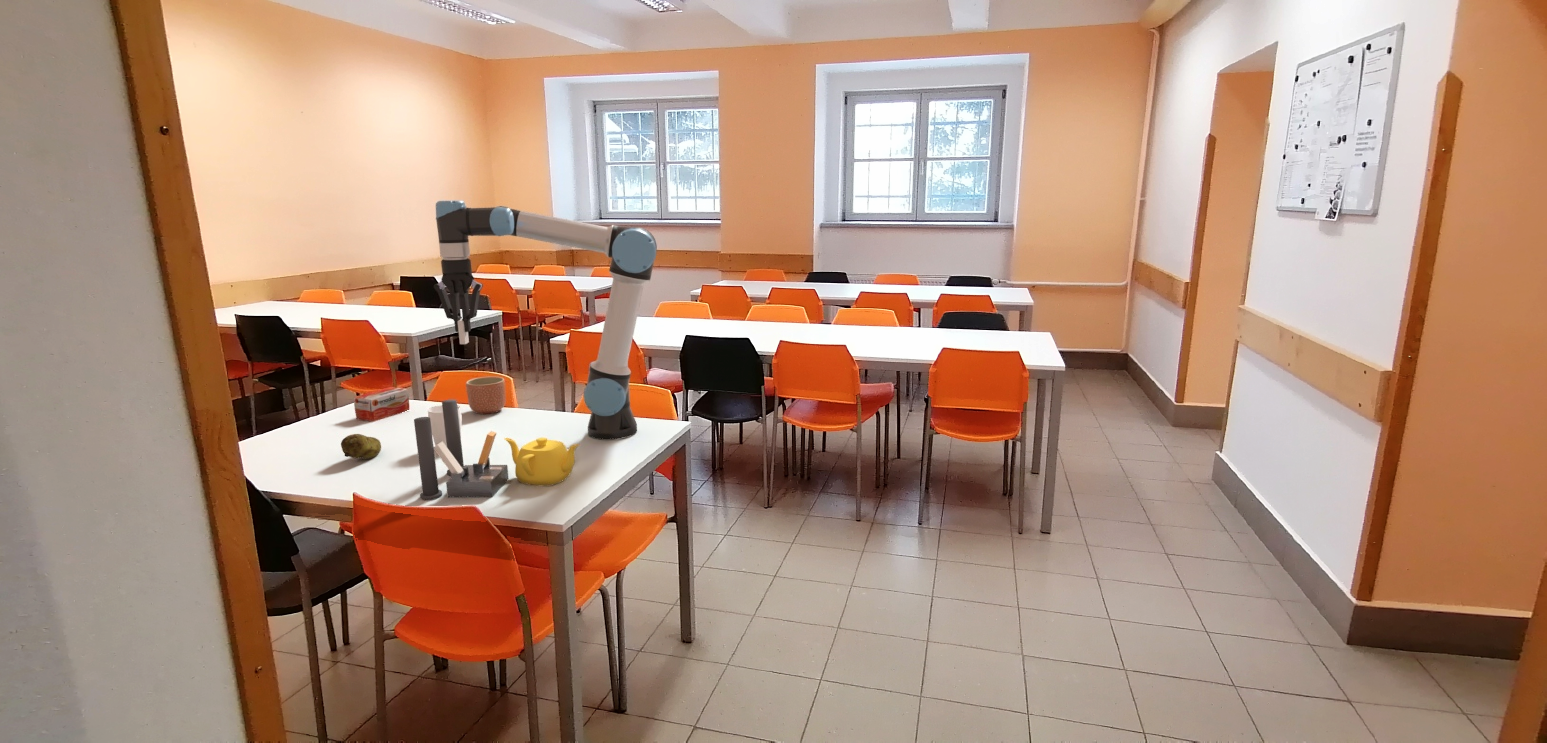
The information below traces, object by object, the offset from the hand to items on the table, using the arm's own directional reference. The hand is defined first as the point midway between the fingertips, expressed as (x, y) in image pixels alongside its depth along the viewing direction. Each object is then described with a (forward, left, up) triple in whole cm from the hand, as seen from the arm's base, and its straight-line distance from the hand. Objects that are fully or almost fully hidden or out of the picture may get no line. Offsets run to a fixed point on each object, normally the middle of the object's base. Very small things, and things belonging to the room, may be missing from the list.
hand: (464, 343), depth 211 cm
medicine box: (+46, -40, -33) cm, 70 cm away
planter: (+12, -43, -33) cm, 55 cm away
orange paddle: (-11, +24, -27) cm, 38 cm away
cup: (+10, -5, -33) cm, 34 cm away
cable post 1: (-1, +32, -32) cm, 46 cm away
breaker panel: (-11, +27, -32) cm, 44 cm away
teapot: (-25, +21, -33) cm, 47 cm away
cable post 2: (-1, +16, -32) cm, 36 cm away
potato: (+30, +4, -33) cm, 45 cm away
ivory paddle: (-8, +30, -27) cm, 42 cm away
